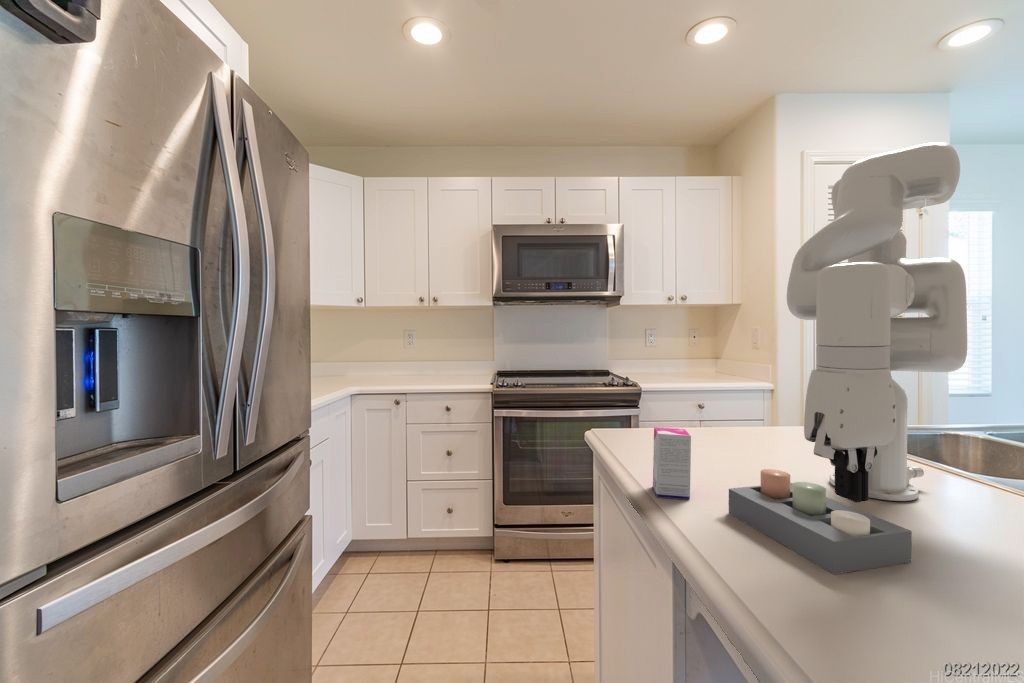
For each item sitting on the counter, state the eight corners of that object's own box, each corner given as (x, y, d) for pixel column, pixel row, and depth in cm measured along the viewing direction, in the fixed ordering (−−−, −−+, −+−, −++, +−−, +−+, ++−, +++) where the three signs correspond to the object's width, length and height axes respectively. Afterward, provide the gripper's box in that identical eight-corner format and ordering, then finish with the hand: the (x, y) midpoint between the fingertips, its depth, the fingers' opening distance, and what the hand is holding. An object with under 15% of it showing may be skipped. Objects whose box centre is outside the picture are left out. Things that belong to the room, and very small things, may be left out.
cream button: (847, 538, 58) (847, 509, 58) (878, 552, 54) (878, 521, 54) (823, 541, 57) (823, 511, 57) (852, 556, 53) (852, 524, 53)
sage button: (808, 507, 64) (808, 480, 64) (833, 518, 60) (833, 490, 60) (785, 509, 63) (785, 483, 63) (809, 521, 59) (810, 492, 59)
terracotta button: (775, 492, 70) (775, 468, 70) (796, 502, 66) (796, 476, 66) (754, 494, 69) (754, 470, 69) (774, 504, 65) (774, 478, 65)
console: (790, 506, 72) (790, 482, 72) (911, 562, 54) (911, 531, 54) (728, 513, 69) (728, 488, 69) (834, 574, 52) (834, 541, 52)
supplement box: (691, 500, 75) (691, 435, 74) (656, 497, 76) (656, 433, 76) (685, 488, 80) (685, 427, 80) (652, 486, 82) (652, 426, 81)
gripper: (867, 354, 61) (867, 481, 62) (779, 359, 58) (779, 493, 58) (929, 358, 53) (927, 502, 54) (831, 365, 50) (831, 517, 51)
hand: (851, 497), depth 56 cm, fingers closed
